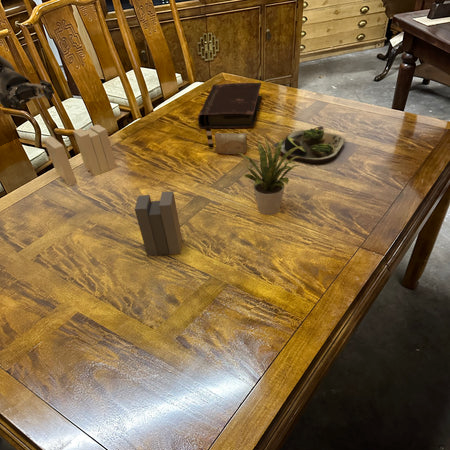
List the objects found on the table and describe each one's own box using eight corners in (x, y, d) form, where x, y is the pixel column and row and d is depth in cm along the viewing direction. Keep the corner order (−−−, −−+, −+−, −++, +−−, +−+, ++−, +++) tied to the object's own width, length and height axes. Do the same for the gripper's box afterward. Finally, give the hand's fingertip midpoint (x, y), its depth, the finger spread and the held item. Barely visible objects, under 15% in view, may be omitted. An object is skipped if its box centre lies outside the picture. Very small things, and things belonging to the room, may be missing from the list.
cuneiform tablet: (209, 147, 125) (249, 146, 123) (206, 157, 122) (247, 156, 120) (205, 126, 119) (247, 125, 117) (203, 136, 116) (245, 135, 114)
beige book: (77, 183, 116) (63, 145, 108) (69, 186, 115) (54, 148, 107) (65, 173, 120) (51, 135, 112) (57, 176, 119) (42, 138, 112)
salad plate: (296, 128, 129) (296, 113, 126) (352, 137, 122) (355, 122, 119) (267, 156, 118) (267, 140, 115) (328, 168, 111) (329, 152, 108)
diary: (198, 129, 134) (196, 113, 130) (212, 98, 151) (210, 83, 147) (256, 128, 131) (255, 112, 127) (263, 97, 148) (263, 82, 144)
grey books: (180, 253, 91) (170, 204, 82) (147, 255, 91) (133, 207, 82) (182, 239, 94) (173, 191, 85) (150, 241, 95) (137, 193, 86)
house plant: (316, 207, 99) (323, 141, 87) (278, 235, 93) (279, 167, 81) (271, 187, 107) (271, 124, 95) (232, 211, 100) (228, 147, 89)
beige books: (86, 170, 121) (72, 131, 112) (108, 161, 123) (97, 122, 115) (93, 176, 118) (80, 136, 109) (117, 166, 121) (105, 127, 112)
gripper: (-17, 79, 115) (2, 93, 106) (33, 65, 121) (54, 77, 111) (-4, 107, 121) (14, 122, 111) (43, 92, 126) (64, 106, 117)
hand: (34, 100), depth 111 cm, fingers open, 8 cm apart
